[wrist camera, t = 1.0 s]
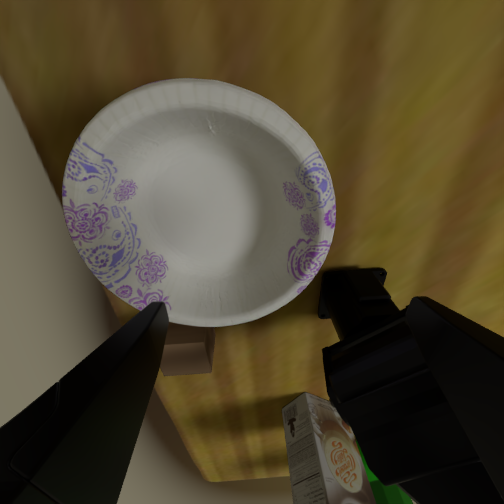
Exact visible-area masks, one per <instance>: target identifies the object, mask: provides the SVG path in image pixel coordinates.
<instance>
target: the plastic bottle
mask: <svg viewBox="0 0 504 504" xmlns="http://www.w3.org/2000/svg"><path fill="white" fill-rule="evenodd" d="M356 444H357V447H358V450H359V453H360V456H361V459H362V462H363V465H364V468H365V471H366V474H367V477H368V480H369V483H370V486H371V489H372V492H373V495H374V498H375V501H376V504H413V502H412V500H411V498H410V497H409V496H408V495H407V494H406V493H405V492H403V491H402V490H401V489H400V488H399V487H398V486H397V485H396V484H394V485H391V486H385V485H383V484H382V483H381V482H380V481H379V479H378V478H377V477H376V476H375V475H374V474H373V473H372V472H371V470H370V469H369V468H368V466H367V463H366V461H365V459H364V456H363V454H362V451H361V449H360V446H359V444H358V442H357V441H356Z"/></svg>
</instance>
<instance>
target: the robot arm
mask: <svg viewBox="0 0 504 504" xmlns="http://www.w3.org/2000/svg"><path fill="white" fill-rule="evenodd" d="M380 273H381V274H380ZM386 275H387V272H386V270H385V269H383V268H377V269H361V270H347V271H332V272H325V273H324V274H323V276H322V283H321V291H320V299H319V307H318V316H319V318H320V319H329V318H331V320H332V322H333V325H334V327H335V330H336V332H337V334H338V337H339V339H340V341H339V342H337V343H335V344H333V345H331V346H329V347H325V348H323V349H322V353H323V364H324V372H325V380H326V387H327V393H328V396H329V397H330V398H329V400H330V403H331V405H332V407H334V408H336V410H337V412H338V414H339V415H340V417H341V418H342V420H343V421H344V422H345V423H346V424H347V425H348V426H350V427H351V429H352V431H353V433H354V435H355V437H356V440H357V442H358V444H359V446H360V449H361V451H362V454H363V456H364V459H365V461H366V463H367V466H368V468H369V469H370V470H371V472H372V473H373V474H374V475H375V476H376V477H377V478H378V479H379V481H380V482H381V483H382V484H383V485H385V486H391V485H394V484H396V485H397V486H398V487H399V488H400V489H401V490H402V491H403V492H405V493H406V494H407V495H408V496H409V497H410V498H411V499H412V500H414V501H415V502H416V503H417V504H504V337H502V336H500V335H498V334H496V333H494V332H493V331H491V330H489V329H487V328H485V327H483V326H481V325H479V324H477V323H476V322H474V321H472V320H470V319H468V318H466V317H464V316H462V315H461V314H459V313H457V312H455V311H453V310H451V309H449V308H447V307H445V306H444V305H442V304H440V303H438V302H436V301H434V300H432V299H430V298H429V297H426V296H416V297H413V298H412V300H411V302H410V304H409V305H408V306H406V308H404V309H402V310H399V309H398V308H397V306H396V305H395V304H394V302H393V301H392V300H391V296H390V294H389V293H388V292H387V290H386V289H385V288H384V286H383V285H384V282H385V279H386ZM327 276H329V277H327ZM326 277H327V278H326ZM322 314H323V315H322ZM168 325H169V317H168V313H167V309H166V305H165V303H164V302H163V301H153V302H151V303H150V304H148V305H147V306H146V307H145V308H144V309H143V310H141V311H140V312H139V313H138V314H137V315H135V316H134V317H133V318H132V319H131V320H130V321H128V322H127V323H126V324H125V325H124V326H122V327H121V328H120V329H119V330H118V331H117V332H116V333H114V334H113V335H112V336H111V337H109V338H108V339H107V340H106V341H105V342H104V343H102V344H101V345H100V346H99V347H98V348H97V349H95V350H94V351H93V352H92V353H91V354H90V355H88V356H87V357H86V358H85V359H83V360H82V361H81V362H80V363H79V364H78V365H76V366H75V367H74V368H73V369H72V370H71V371H70V372H68V373H67V374H66V375H65V376H63V377H62V378H61V379H60V380H59V382H56V383H55V384H54V385H53V386H52V387H50V388H49V389H48V390H47V391H46V392H44V393H43V394H42V395H41V396H40V397H38V398H37V399H36V400H35V401H33V402H32V403H31V404H30V405H29V406H27V407H26V408H25V409H24V410H22V411H21V412H20V413H19V414H17V415H16V416H15V417H13V418H12V419H11V420H10V421H9V422H7V423H6V424H4V425H3V426H2V427H0V504H117V501H118V498H119V495H120V491H121V488H122V485H123V482H124V479H125V476H126V472H127V469H128V466H129V463H130V460H131V457H132V453H133V450H134V447H135V444H136V441H137V438H138V435H139V431H140V428H141V425H142V422H143V419H144V415H145V412H146V409H147V406H148V403H149V400H150V397H151V394H152V390H153V387H154V384H155V381H156V378H157V375H158V371H159V368H160V364H161V360H162V355H163V350H164V345H165V340H166V335H167V330H168Z"/></svg>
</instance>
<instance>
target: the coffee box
mask: <svg viewBox="0 0 504 504" xmlns="http://www.w3.org/2000/svg"><path fill="white" fill-rule="evenodd" d="M282 415H283V423H284V431H285V439H286V447H287V456H288V464H289V473H290V480H291V488H292V496H293V504H376V501H375V498H374V495H373V492H372V489H371V486H370V483H369V480H368V477H367V474H366V471H365V468H364V465H363V462H362V459H361V456H360V453H359V450H358V447H357V444H356V441H355V438H354V435H353V431H352V429H351V427H350V426H348V425H347V424H346V423H345V422H344V421H343V420H342V418H341V417H340V415H339V414H338V412H337V410H336V408H334V407H332V405H331V403H330V401H327V400H325V399H322V398H319V397H317V396H314V395H312V394H309V393H306V392H305V393H303V394H302V395H300V396H299V397H297V398H296V399H295V400H293V401H292V402H291V403H289V404H288V405H286V406H285V407H284V408H282Z"/></svg>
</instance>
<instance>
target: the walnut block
mask: <svg viewBox="0 0 504 504" xmlns="http://www.w3.org/2000/svg"><path fill="white" fill-rule="evenodd" d="M214 344H215V330H214V327H200V326H190V325H184V324H178V323H173V322H169V325H168V330H167V335H166V340H165V345H164V350H163V355H162V360H161V364H160V368H161V370H162V373H163V375H164V376H173V375H187V374H202V373H211V372H212V363H213V353H214Z"/></svg>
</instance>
